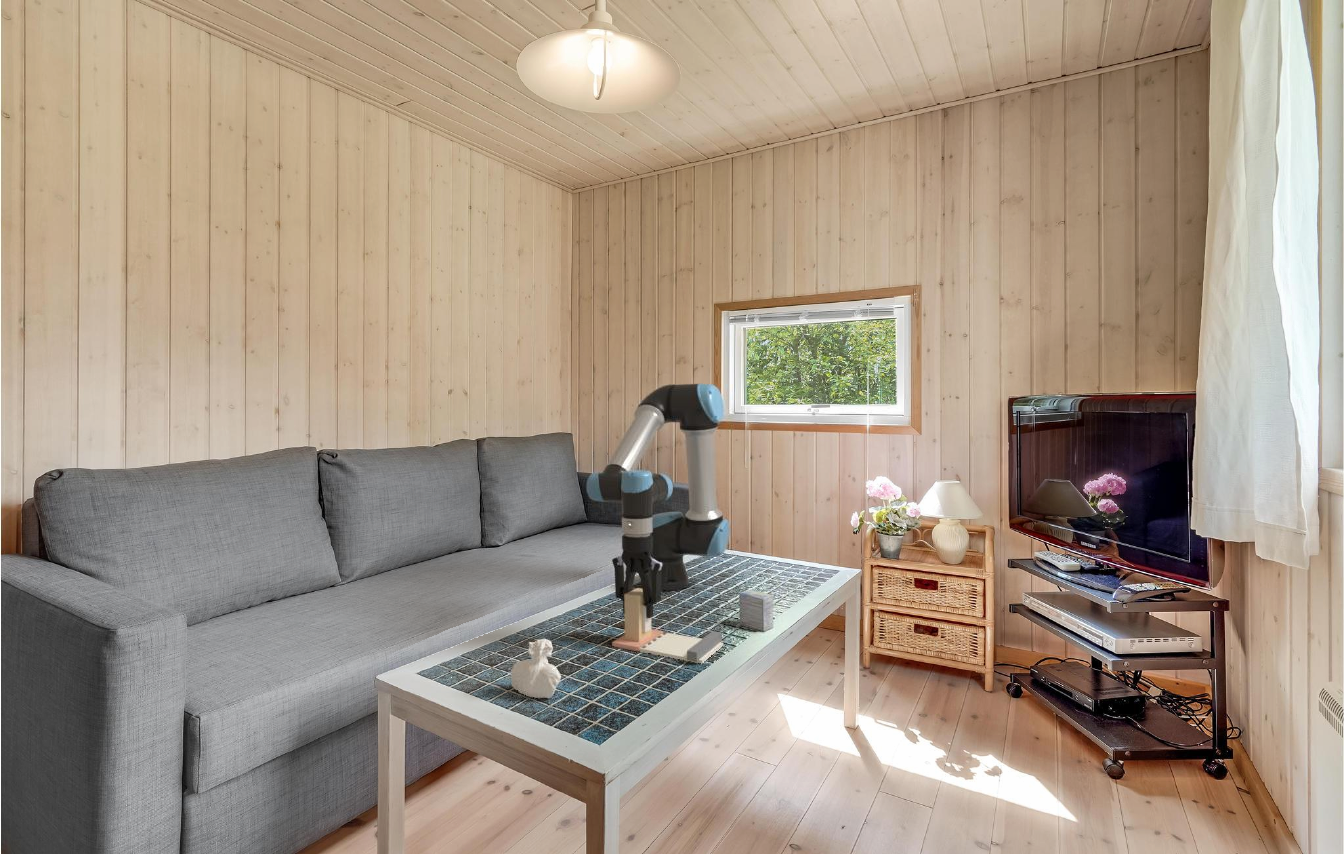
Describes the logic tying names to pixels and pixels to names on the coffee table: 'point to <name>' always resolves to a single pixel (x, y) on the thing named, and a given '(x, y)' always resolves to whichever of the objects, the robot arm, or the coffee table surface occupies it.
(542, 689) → the white tied sack
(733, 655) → the coffee table surface
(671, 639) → the cream flat slab
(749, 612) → the grey rectangular block
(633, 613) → the stub
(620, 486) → the robot arm
